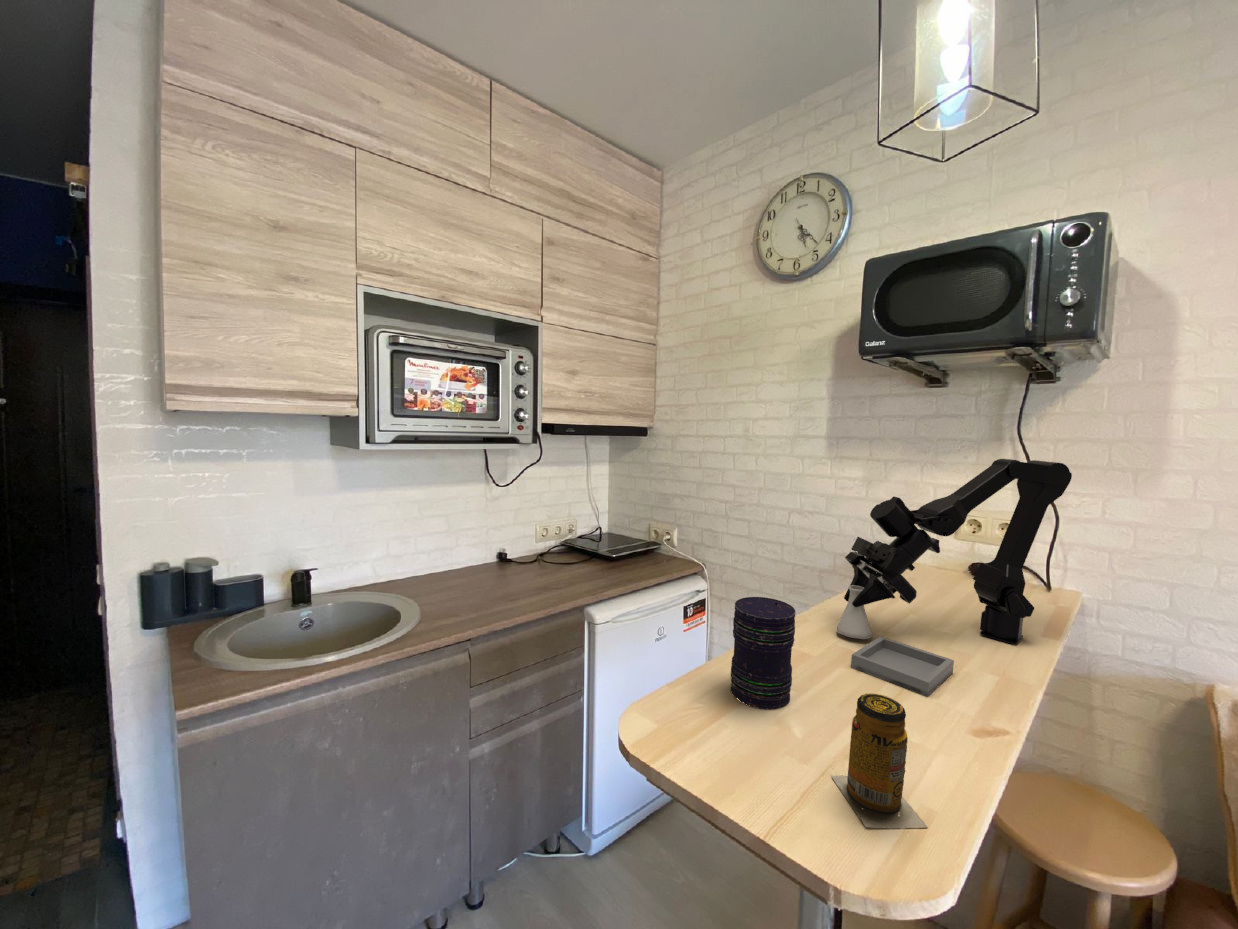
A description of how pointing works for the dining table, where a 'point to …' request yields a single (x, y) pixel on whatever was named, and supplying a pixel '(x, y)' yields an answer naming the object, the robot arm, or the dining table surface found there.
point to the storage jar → (762, 652)
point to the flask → (854, 618)
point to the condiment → (878, 765)
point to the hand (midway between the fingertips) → (849, 602)
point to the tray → (903, 665)
